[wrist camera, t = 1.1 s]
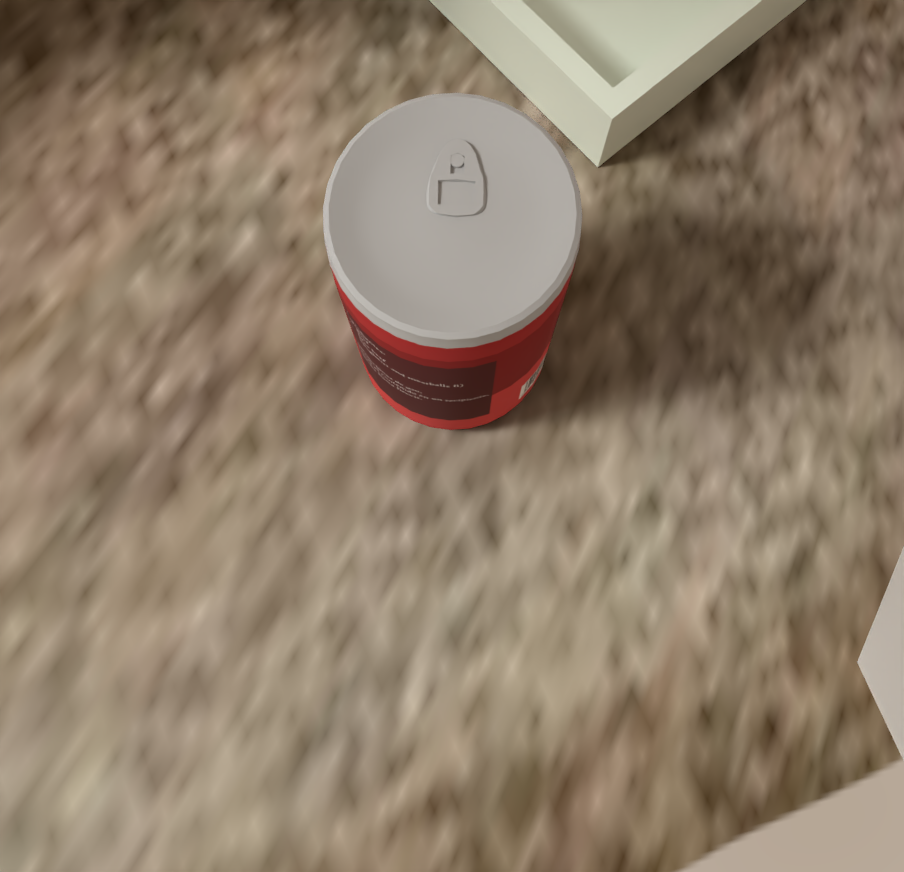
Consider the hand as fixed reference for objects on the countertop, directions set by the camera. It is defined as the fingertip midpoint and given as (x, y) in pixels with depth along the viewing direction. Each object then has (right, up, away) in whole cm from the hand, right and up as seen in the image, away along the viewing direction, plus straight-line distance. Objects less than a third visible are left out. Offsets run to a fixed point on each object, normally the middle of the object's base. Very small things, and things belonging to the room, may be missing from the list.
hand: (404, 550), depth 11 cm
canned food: (+1, +5, +24) cm, 25 cm away
